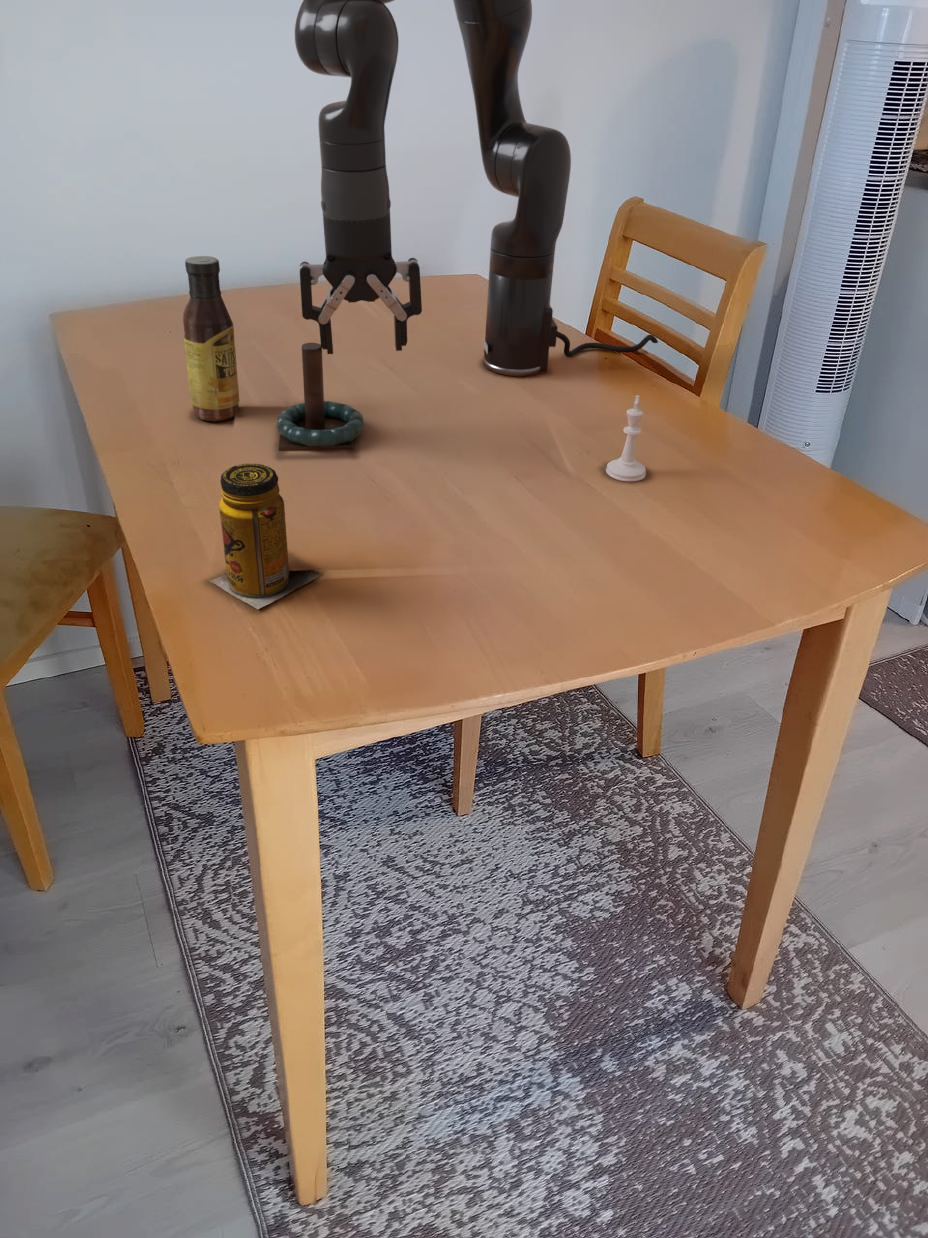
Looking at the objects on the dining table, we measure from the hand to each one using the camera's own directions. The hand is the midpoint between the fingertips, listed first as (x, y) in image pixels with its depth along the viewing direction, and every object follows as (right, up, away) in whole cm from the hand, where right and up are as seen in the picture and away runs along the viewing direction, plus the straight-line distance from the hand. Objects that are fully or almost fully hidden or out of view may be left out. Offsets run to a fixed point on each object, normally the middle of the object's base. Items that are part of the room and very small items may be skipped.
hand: (364, 350), depth 118 cm
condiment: (-8, -29, -20) cm, 36 cm away
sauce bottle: (-21, -5, +12) cm, 24 cm away
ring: (-6, -8, +5) cm, 11 cm away
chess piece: (+32, -15, +3) cm, 35 cm away
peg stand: (-7, -10, +6) cm, 13 cm away
